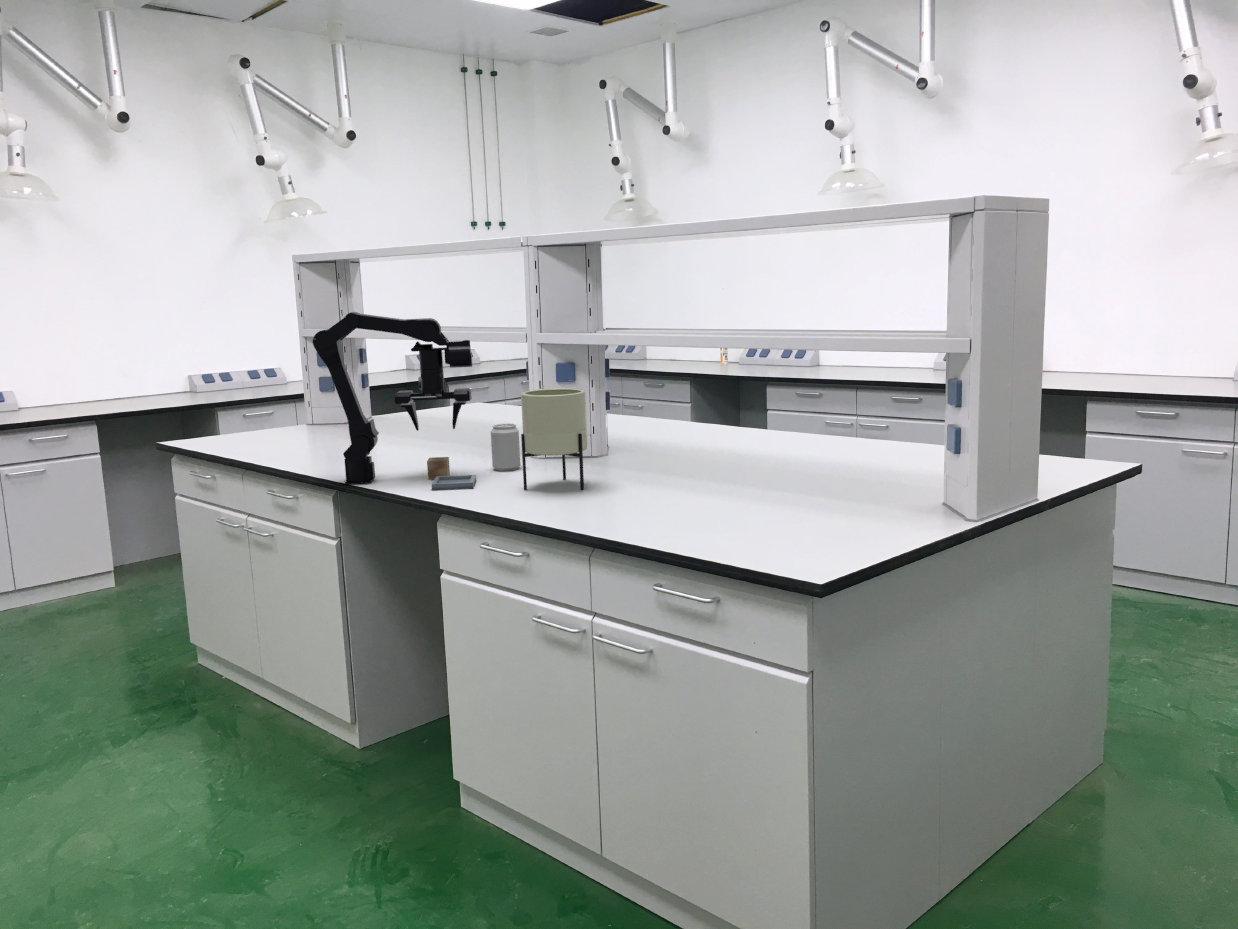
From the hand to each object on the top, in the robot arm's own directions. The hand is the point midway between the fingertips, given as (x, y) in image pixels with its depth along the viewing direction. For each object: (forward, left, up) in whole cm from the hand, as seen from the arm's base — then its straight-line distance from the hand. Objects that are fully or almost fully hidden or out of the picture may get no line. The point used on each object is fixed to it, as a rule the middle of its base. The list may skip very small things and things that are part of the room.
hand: (435, 429), depth 249 cm
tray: (+5, -11, -12) cm, 17 cm away
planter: (+30, -18, -13) cm, 37 cm away
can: (+17, +8, -13) cm, 23 cm away
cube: (0, 0, -13) cm, 13 cm away
